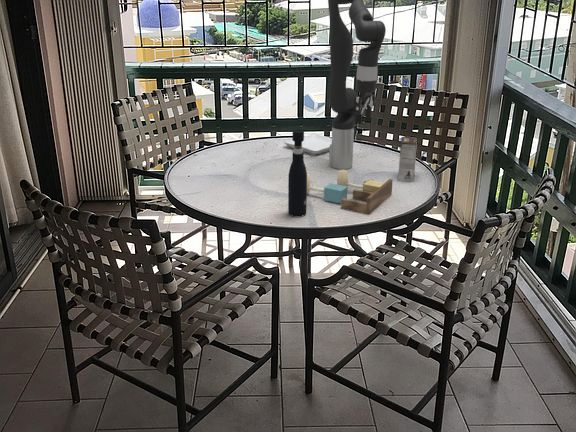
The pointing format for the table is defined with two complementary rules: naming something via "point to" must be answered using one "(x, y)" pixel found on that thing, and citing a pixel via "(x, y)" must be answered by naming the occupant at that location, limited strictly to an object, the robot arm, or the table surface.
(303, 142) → the salad plate
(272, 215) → the table surface
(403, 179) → the coffee box
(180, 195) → the table surface
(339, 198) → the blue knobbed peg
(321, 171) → the table surface
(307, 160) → the table surface
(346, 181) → the yellow peg toy
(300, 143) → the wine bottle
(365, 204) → the lane rack
